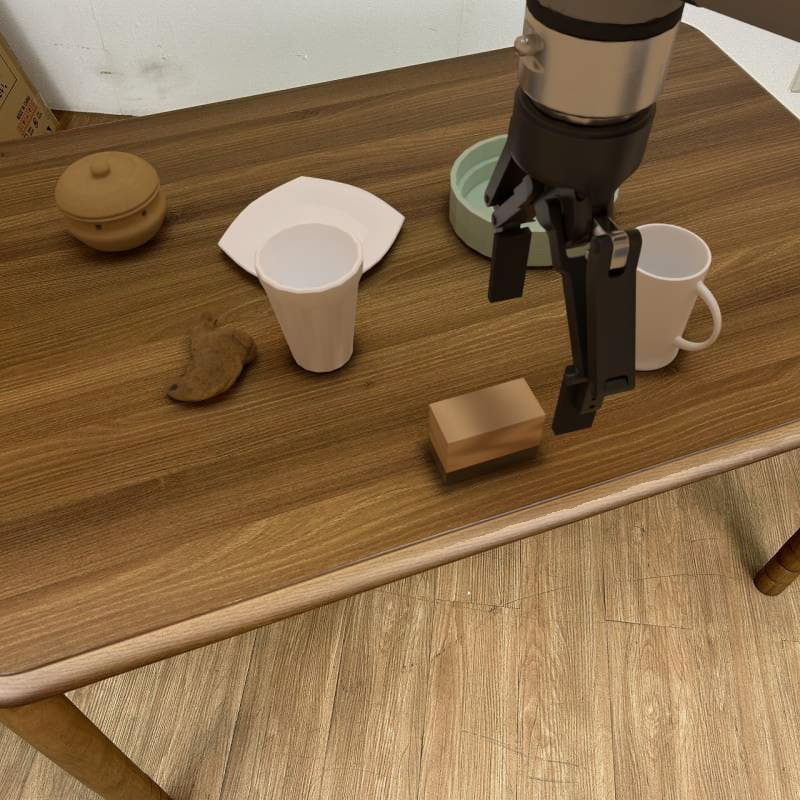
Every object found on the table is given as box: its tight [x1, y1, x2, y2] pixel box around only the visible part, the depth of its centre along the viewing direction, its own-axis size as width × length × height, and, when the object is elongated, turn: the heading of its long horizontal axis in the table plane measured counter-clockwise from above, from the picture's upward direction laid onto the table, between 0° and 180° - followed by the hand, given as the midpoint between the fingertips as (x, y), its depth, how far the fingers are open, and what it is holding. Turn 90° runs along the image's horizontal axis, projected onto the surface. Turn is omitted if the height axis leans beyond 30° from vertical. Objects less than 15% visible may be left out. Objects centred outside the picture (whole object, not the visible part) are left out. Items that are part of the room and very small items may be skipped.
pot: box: [54, 150, 168, 253], centre depth 86 cm, size 12×12×10 cm
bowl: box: [448, 133, 620, 267], centre depth 89 cm, size 19×19×6 cm
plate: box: [217, 175, 406, 278], centre depth 88 cm, size 19×19×2 cm
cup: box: [254, 221, 364, 373], centre depth 72 cm, size 10×10×13 cm
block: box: [427, 377, 546, 486], centre depth 66 cm, size 9×4×6 cm, turn 109°
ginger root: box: [165, 310, 258, 403], centre depth 75 cm, size 10×10×4 cm
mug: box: [633, 223, 723, 372], centre depth 72 cm, size 12×8×12 cm
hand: (535, 357), depth 56 cm, fingers open, 13 cm apart
